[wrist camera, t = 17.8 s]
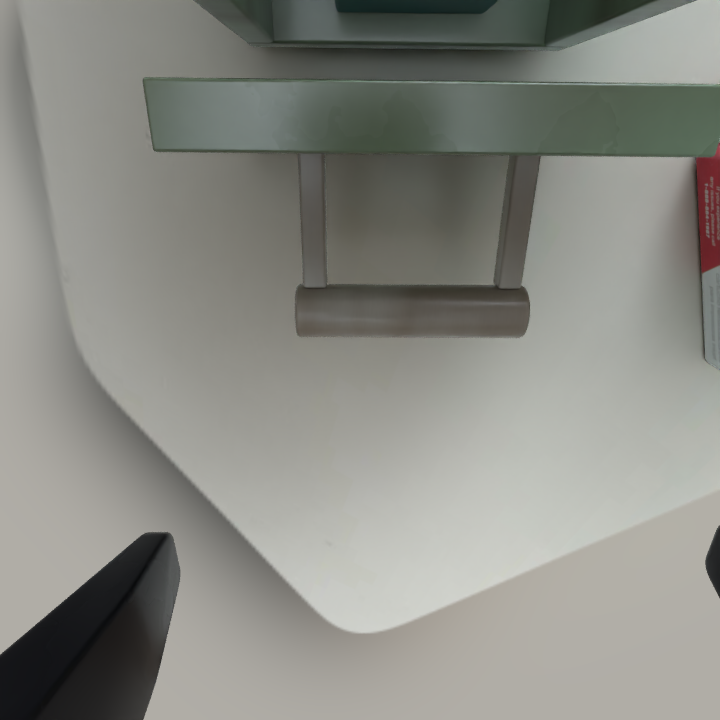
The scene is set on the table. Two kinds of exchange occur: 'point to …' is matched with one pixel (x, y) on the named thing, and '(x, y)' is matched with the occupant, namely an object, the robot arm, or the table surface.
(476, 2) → the teal block
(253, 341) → the table surface
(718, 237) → the ink box
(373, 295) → the green drawer
